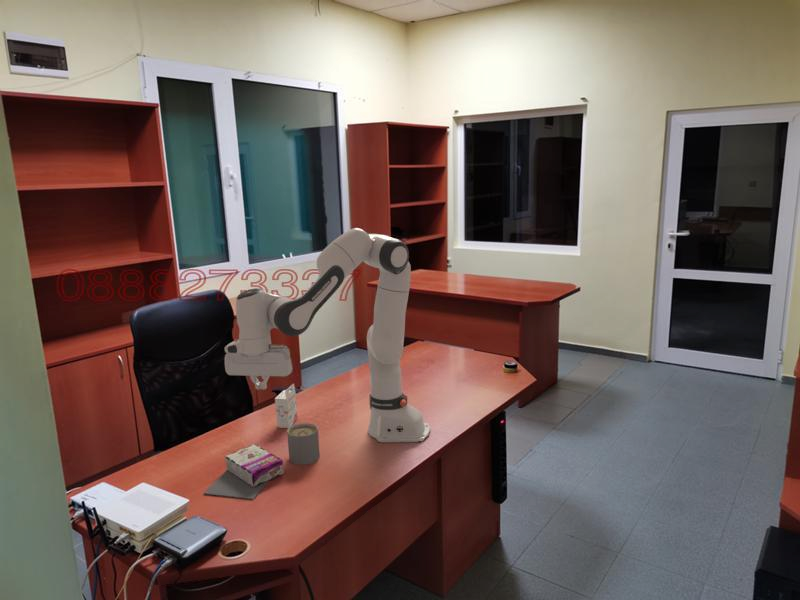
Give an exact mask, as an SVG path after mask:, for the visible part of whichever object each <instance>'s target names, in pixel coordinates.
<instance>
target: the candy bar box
mask: <svg viewBox="0 0 800 600" xmlns="http://www.w3.org/2000/svg"><path fill="white" fill-rule="evenodd" d="M224 459H225V468H226V471H227V470H229V471H230V472H231V473H233V474H235V475H236V476H237V477H239V478H240V479H242V480H243V481H245V482H246V483H248V484H249V485H251V486H252V487H255V486H257V485H259V484H261V483H263V482H266V481H268V480H272V479H274V478H276V477H279V476H281V475H283V474H285V471H284V462H283V461H284V460H283V459H282V458H280V457H278V456H276V455H275V454H273V453H271V452H270V451H268V450H266V449H264V448H262V446H260V445H257V444H256V443H254V444H250V445H249V446H246V447H244V448H241V449H239V450H236V451H234V452H232V453H229V454H227V455H225V456H224Z"/></svg>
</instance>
